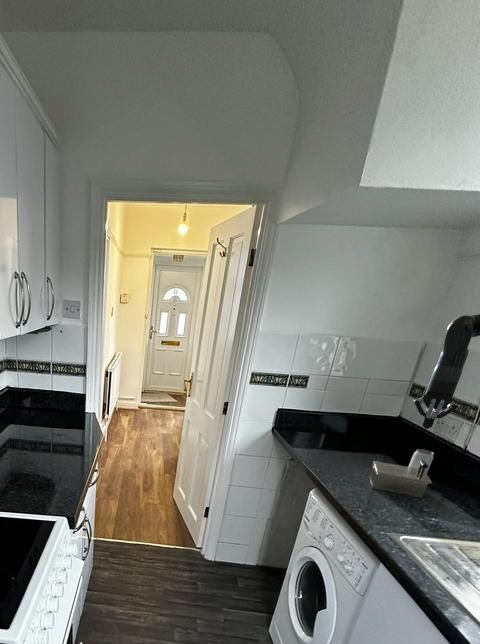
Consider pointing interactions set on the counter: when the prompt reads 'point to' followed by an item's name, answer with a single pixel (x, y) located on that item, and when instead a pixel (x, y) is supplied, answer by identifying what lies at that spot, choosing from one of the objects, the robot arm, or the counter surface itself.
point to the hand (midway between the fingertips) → (425, 428)
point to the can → (421, 458)
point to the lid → (403, 471)
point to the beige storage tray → (396, 484)
